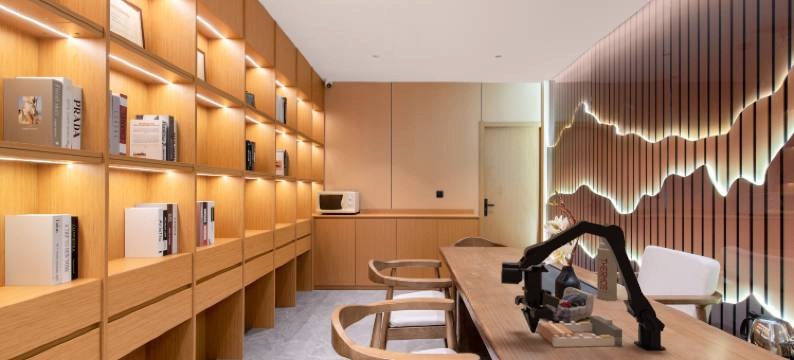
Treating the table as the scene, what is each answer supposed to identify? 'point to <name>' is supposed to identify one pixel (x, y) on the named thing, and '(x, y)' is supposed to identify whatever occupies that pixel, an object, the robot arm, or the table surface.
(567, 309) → the cell model
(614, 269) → the thermos bottle
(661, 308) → the table surface
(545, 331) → the block
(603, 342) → the comb channel
